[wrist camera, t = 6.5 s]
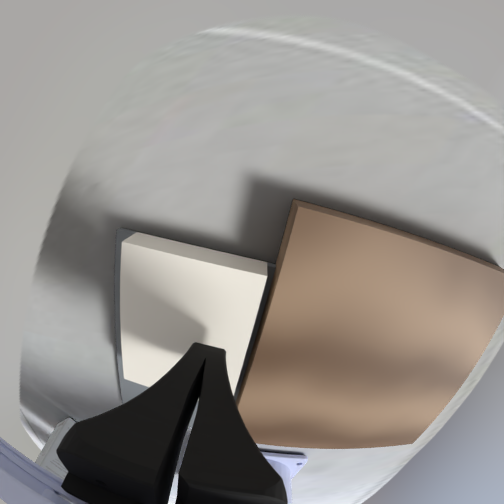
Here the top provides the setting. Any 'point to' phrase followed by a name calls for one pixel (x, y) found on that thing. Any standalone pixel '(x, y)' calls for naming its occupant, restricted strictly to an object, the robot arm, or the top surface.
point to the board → (364, 333)
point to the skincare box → (48, 453)
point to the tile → (184, 304)
